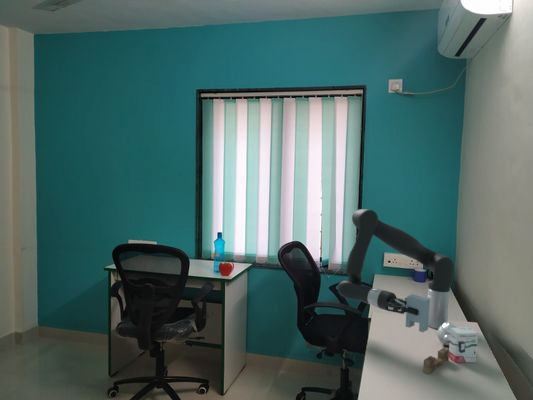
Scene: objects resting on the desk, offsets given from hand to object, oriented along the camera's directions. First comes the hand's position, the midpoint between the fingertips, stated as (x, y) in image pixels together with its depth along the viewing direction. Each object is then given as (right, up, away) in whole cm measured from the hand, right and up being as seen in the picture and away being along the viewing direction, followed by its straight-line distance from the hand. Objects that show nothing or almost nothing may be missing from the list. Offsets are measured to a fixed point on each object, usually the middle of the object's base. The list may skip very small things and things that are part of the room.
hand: (420, 311), depth 155 cm
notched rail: (+4, -19, -3) cm, 20 cm away
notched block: (-1, -7, +2) cm, 7 cm away
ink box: (+17, -19, +2) cm, 26 cm away
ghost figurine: (+17, -18, +14) cm, 28 cm away
